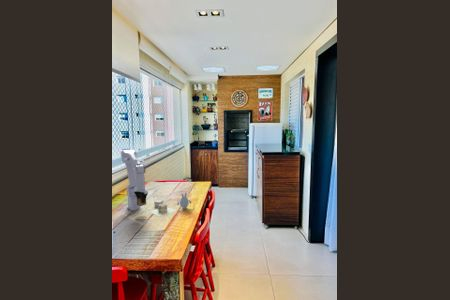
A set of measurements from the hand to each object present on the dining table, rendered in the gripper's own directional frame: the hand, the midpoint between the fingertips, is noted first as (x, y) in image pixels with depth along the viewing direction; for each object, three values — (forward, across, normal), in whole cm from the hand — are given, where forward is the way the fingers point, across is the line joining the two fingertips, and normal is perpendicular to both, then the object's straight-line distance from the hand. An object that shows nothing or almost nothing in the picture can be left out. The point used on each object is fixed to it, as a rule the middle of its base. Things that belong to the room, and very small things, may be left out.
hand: (141, 202), depth 162 cm
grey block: (+9, -4, +16) cm, 19 cm away
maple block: (+8, +7, +12) cm, 16 cm away
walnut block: (+2, 0, 0) cm, 2 cm away
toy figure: (+9, +15, +25) cm, 31 cm away
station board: (+9, +7, +12) cm, 16 cm away
